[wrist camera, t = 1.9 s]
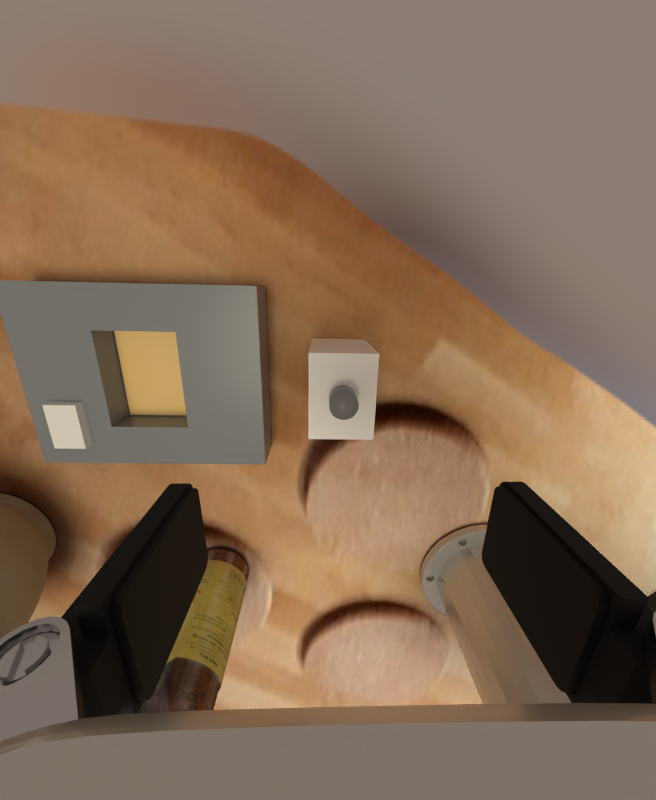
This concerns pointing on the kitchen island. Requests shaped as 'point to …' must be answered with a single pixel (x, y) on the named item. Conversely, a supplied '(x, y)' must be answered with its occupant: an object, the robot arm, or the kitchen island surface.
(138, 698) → the robot arm
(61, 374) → the socket
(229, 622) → the sauce bottle
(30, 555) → the planter bowl
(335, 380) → the plug
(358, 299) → the kitchen island surface
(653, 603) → the travel mug
